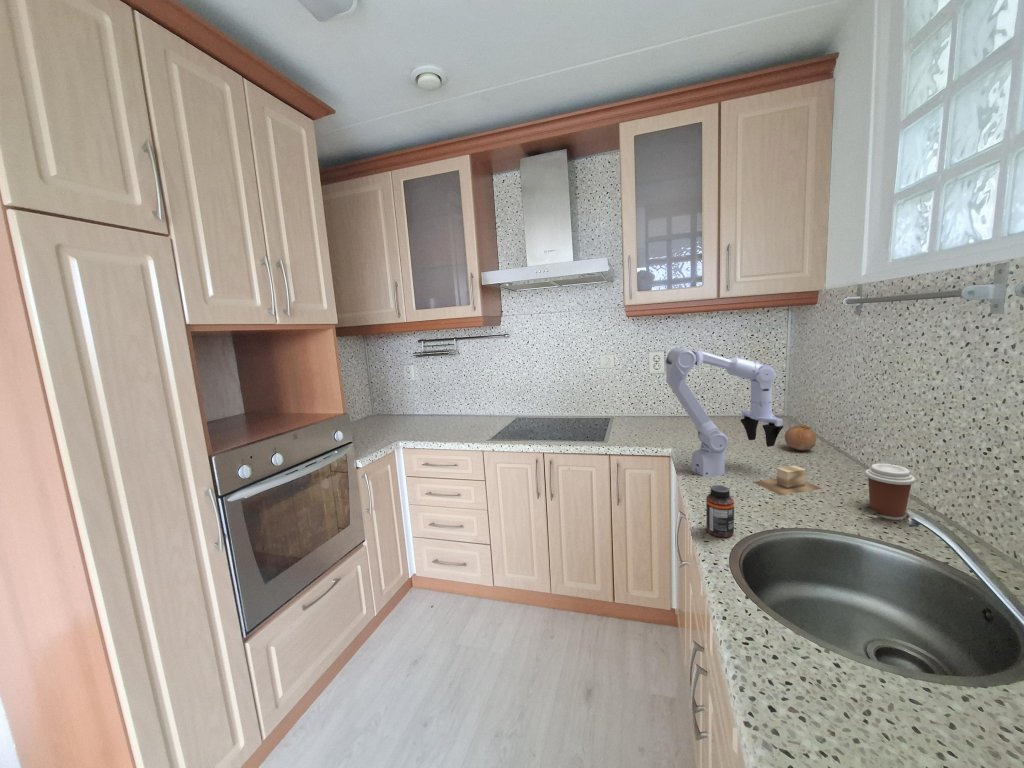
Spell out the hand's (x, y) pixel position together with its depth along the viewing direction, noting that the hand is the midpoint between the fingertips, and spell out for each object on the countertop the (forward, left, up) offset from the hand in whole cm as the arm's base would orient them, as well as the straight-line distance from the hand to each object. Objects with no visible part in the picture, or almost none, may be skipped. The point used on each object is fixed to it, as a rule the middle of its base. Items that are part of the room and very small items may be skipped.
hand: (760, 442), depth 128 cm
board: (-2, -12, -10) cm, 16 cm away
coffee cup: (+8, -32, -11) cm, 34 cm away
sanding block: (-1, -13, -9) cm, 16 cm away
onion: (+30, +14, -11) cm, 35 cm away
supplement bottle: (-36, -28, -11) cm, 47 cm away
